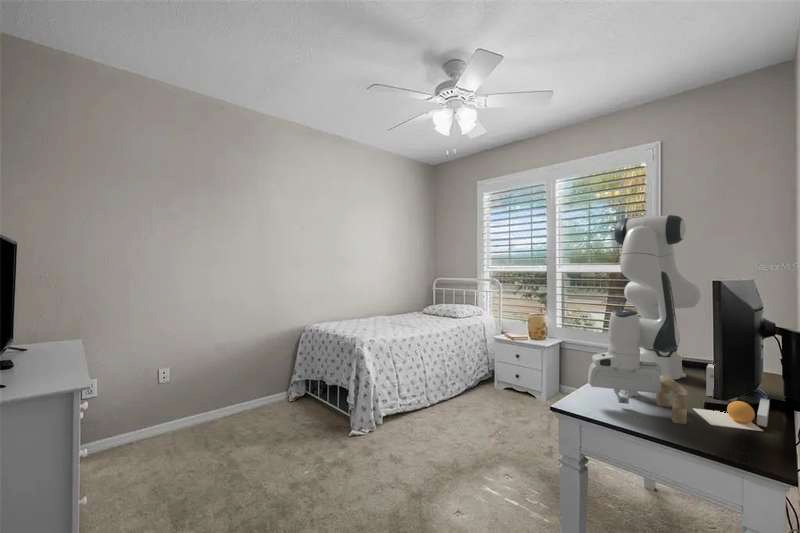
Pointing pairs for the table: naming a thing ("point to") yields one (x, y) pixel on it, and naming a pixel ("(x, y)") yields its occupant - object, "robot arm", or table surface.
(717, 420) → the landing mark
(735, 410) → the ball
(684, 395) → the bridge
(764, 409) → the rail
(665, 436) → the table surface
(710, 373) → the small box
